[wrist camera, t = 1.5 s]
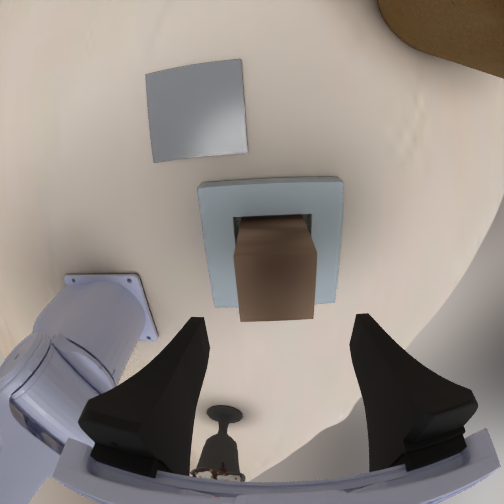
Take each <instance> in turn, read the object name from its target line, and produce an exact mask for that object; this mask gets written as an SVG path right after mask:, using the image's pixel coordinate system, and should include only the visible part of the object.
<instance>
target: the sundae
mask: <svg viewBox="0 0 504 504" xmlns="http://www.w3.org/2000/svg"><path fill="white" fill-rule="evenodd" d="M207 414H208V416H209V417H210V418H211V419H213V420H215V421H218V422H219V431H218V434H216V435H213V436H211V437H210V438H208V439H207V441H206V443H205V445H204V447H203V450H202V453H201V457H200V460H199V462H198V465H197V468H196V469H194V470H192V471H191V472H190V474H191V475H193V477H198V478H206V479H215V480H225V481H239V482H244V481H245V476H244V474H242V473H240V470H239V462H238V450H237V444H236V442H235V441H234V440H233V439H232V438H231V437H230V436H228V434H227V428H228V424H229V423H235V422H238V421H240V420H241V419H242V417H243V415H242V413H241V412H240V411H239V410H237V409H235V408H233V407H229V406H214V407H211V408H209V409H208V411H207ZM215 497H217V496H215Z"/></svg>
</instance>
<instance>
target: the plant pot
mask: <svg viewBox="0 0 504 504" xmlns="http://www.w3.org/2000/svg"><path fill="white" fill-rule="evenodd" d="M378 5H379V8H380V11H381V14H382V16H383V18H384V19H385V21H386V23H387V24H388V26H389V27H390V28H391V29H392V31H393V32H394V33H395V34H396V35H397V36H398V37H399V38H401V39H402V40H403V41H404V42H406V43H407V44H409V45H410V46H412V47H414V48H416V49H418V50H420V51H423V52H425V53H428V54H431V55H434V56H437V57H440V58H443V59H446V60H449V61H452V62H455V63H458V64H461V65H464V66H467V67H470V68H473V69H476V70H479V71H482V72H485V73H488V74H492V75H495V76H497V77H500V78H503V79H504V0H378Z"/></svg>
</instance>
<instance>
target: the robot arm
mask: <svg viewBox="0 0 504 504" xmlns="http://www.w3.org/2000/svg"><path fill="white" fill-rule="evenodd" d="M128 278H129V279H131V281H130V280H129V279H128ZM74 279H75V280H74ZM64 282H65V284H66V286H65V287H64V288H63V289H62V290H61V291H60V292H59V293H58V294H57V295H56V296H55V298H54V299H53V300H52V301H51V302H50V303H49V304H48V305H47V306H46V308H45V309H44V310H43V311H42V312H41V313H40V314H39V316H38V317H37V319H36V321H35V324H34V327H33V332H32V334H30V335H29V336H27V337H26V338H25V339H24V340H22V341H21V342H20V343H19V344H18V345H17V346H16V347H15V348H14V349H13V350H12V352H11V353H10V354H9V355H8V357H7V358H6V359H5V361H4V362H3V364H2V365H1V367H0V504H28V503H29V502H30V501H31V499H32V498H33V496H34V495H35V494H36V492H37V491H38V490H39V488H40V487H41V486H42V484H43V483H44V482H45V480H46V479H47V478H53V479H55V480H57V481H58V482H60V483H61V484H63V485H64V486H66V487H68V488H69V489H71V490H73V491H75V492H76V493H78V494H81V495H82V496H84V497H87V498H89V499H91V500H93V501H96V502H98V503H100V504H437V503H439V502H441V501H444V500H446V499H448V498H450V497H452V496H455V495H456V494H459V493H461V492H462V491H465V490H467V489H468V488H471V487H472V486H474V485H475V484H477V483H479V482H480V481H482V480H483V479H485V478H486V477H488V476H489V475H491V474H492V473H494V472H495V471H496V470H498V469H499V468H500V467H501V466H500V463H499V460H498V457H497V454H496V451H495V448H494V446H493V443H492V440H491V438H490V435H489V433H488V430H487V429H486V428H485V429H483V430H481V431H478V432H477V433H474V434H472V435H470V436H468V437H467V438H465V439H464V437H463V434H464V433H465V428H464V425H465V424H466V423H467V421H468V420H469V419H470V418H471V417H472V416H473V415H474V413H475V412H476V410H477V408H478V403H477V401H476V399H475V397H474V395H473V393H472V391H471V390H470V389H467V388H465V387H462V386H460V385H457V384H455V383H453V382H451V381H449V380H447V379H445V378H443V377H441V376H439V375H437V374H436V373H434V372H433V371H431V370H429V369H428V368H427V367H425V366H423V365H422V364H421V363H420V362H418V361H417V360H416V359H414V358H413V357H412V356H411V355H409V354H408V353H407V352H406V351H405V350H404V349H403V348H401V347H400V346H399V345H398V344H397V343H396V342H395V341H394V340H393V339H392V338H391V337H390V336H389V335H388V334H387V333H386V332H385V331H384V330H383V329H382V328H381V327H380V325H379V324H378V323H377V322H376V321H375V320H374V319H373V318H372V317H371V316H370V315H369V314H368V313H367V314H356V318H355V323H354V327H353V332H352V336H351V340H350V344H349V345H350V352H351V358H352V363H353V367H354V370H355V373H356V377H357V380H358V383H359V387H360V390H361V394H362V397H363V401H364V406H365V412H366V420H367V428H368V439H369V464H370V466H369V468H370V469H369V471H370V472H369V473H364V474H358V475H353V476H347V477H339V478H331V479H324V480H312V481H298V482H239V481H225V480H215V479H206V478H198V477H191V476H189V471H190V454H191V443H192V434H193V426H194V419H195V412H196V407H197V402H198V398H199V395H200V391H201V387H202V384H203V380H204V377H205V373H206V369H207V365H208V358H209V351H210V345H209V341H208V336H207V331H206V326H205V321H204V317H191V318H190V319H189V320H188V321H187V323H186V324H185V325H184V326H183V328H182V329H181V330H180V331H179V332H178V334H177V335H176V336H175V337H174V338H173V339H172V340H171V342H170V343H169V344H168V345H167V346H166V347H165V348H164V349H163V350H162V351H161V352H160V353H159V354H158V355H157V356H156V357H155V358H154V359H153V360H152V361H151V362H150V363H149V364H148V365H146V366H145V367H144V368H143V369H141V370H140V371H139V372H138V373H136V374H135V375H133V376H132V377H130V378H129V379H128V380H126V381H125V382H123V383H121V384H120V385H118V382H119V380H120V378H121V376H122V374H123V371H124V369H125V367H126V365H127V363H128V360H129V358H130V356H131V354H132V352H133V350H134V348H135V346H136V344H137V341H138V340H144V341H157V339H158V334H157V331H156V328H155V326H154V323H153V320H152V317H151V314H150V311H149V307H148V304H147V301H146V298H145V295H144V291H143V288H142V285H141V281H140V278H139V277H138V276H137V275H136V274H105V275H65V276H64ZM149 336H150V337H149ZM117 385H118V386H117ZM350 492H351V493H350ZM215 496H217V497H215Z"/></svg>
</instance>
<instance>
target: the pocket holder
mask: <svg viewBox="0 0 504 504" xmlns="http://www.w3.org/2000/svg"><path fill="white" fill-rule="evenodd" d="M197 190H198V198H199V206H200V214H201V221H202V229H203V236H204V243H205V250H206V256H207V263H208V269H209V276H210V282H211V288H212V294H213V300H214V306H215V308H218V307H239V305H238V296H237V287H236V277H235V268H234V259H233V256H234V251H235V246H236V242H237V226H236V217H244V216H265V215H290V214H308V230H309V233H310V235H311V238H312V241H313V243H314V246H315V248H316V251H317V273H316V289H315V303H314V304H323V303H335V298H336V289H337V280H338V270H339V259H340V247H341V232H342V215H343V191H344V182H343V181H342V180H340V179H339V178H338V177H291V178H264V179H245V180H230V181H216V182H204V183H202V184H201V185H200V186H199V187H198V188H197Z"/></svg>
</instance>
